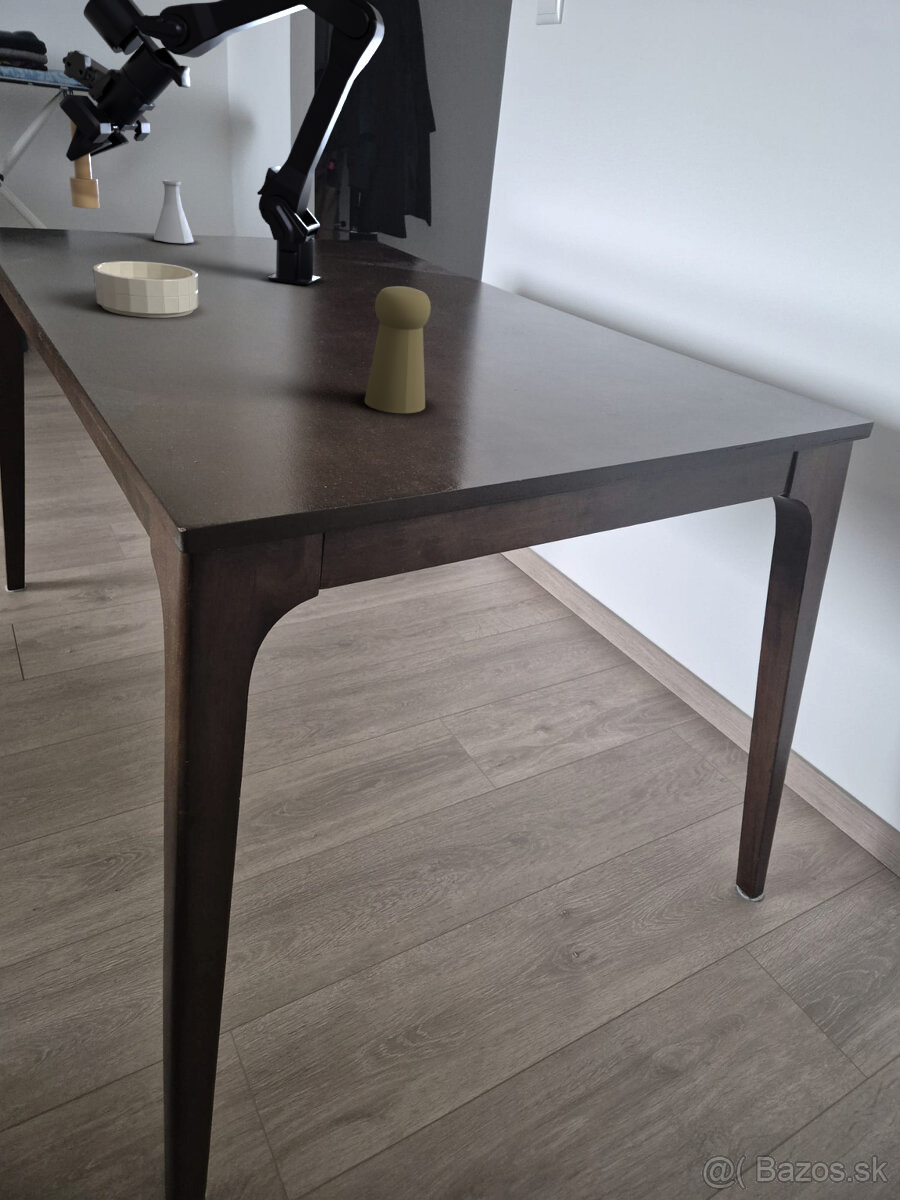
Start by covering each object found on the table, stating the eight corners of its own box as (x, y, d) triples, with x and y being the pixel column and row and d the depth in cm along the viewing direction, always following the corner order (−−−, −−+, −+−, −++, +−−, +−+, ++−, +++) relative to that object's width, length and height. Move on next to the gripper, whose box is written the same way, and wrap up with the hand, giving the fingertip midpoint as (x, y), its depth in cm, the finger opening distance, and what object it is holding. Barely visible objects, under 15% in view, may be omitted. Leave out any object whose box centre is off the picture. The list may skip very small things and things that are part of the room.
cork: (364, 392, 88) (371, 279, 83) (423, 397, 89) (434, 285, 84) (364, 410, 83) (372, 290, 78) (427, 415, 84) (439, 297, 78)
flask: (188, 246, 155) (186, 184, 150) (147, 241, 154) (144, 179, 149) (199, 241, 161) (197, 181, 156) (160, 236, 161) (157, 176, 156)
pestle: (79, 204, 136) (70, 101, 130) (104, 207, 136) (96, 105, 129) (67, 206, 133) (57, 101, 126) (92, 209, 133) (84, 104, 126)
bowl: (127, 293, 116) (125, 257, 114) (214, 306, 115) (213, 271, 113) (76, 308, 105) (73, 269, 103) (171, 323, 104) (169, 284, 102)
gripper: (125, 37, 131) (61, 111, 137) (66, 24, 115) (-3, 109, 121) (178, 103, 135) (114, 173, 141) (128, 100, 119) (58, 179, 124)
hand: (73, 158), depth 131 cm, fingers closed on pestle, 2 cm apart
